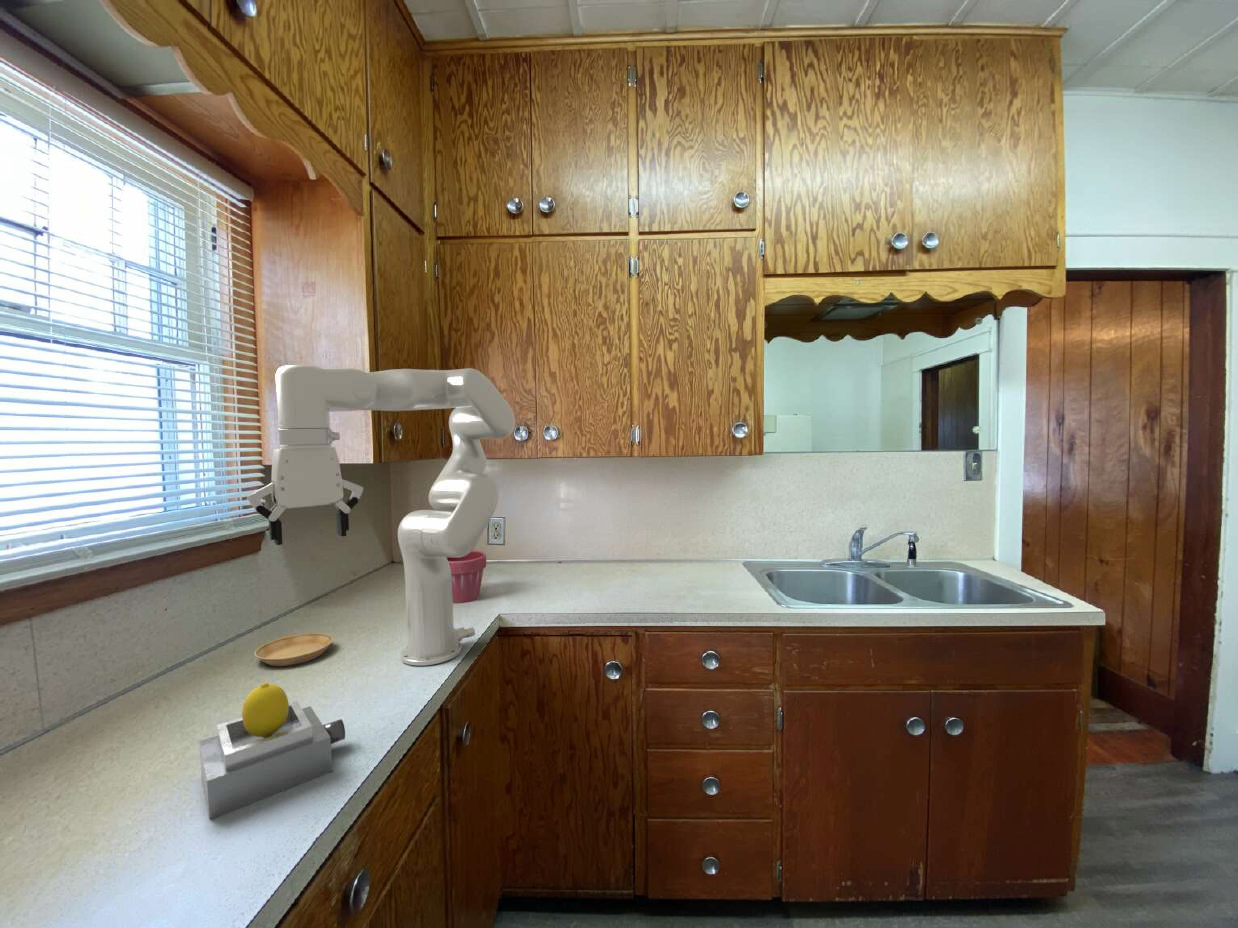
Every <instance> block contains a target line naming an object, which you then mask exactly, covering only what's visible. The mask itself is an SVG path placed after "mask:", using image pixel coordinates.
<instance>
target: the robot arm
mask: <svg viewBox="0 0 1238 928" xmlns="http://www.w3.org/2000/svg"><path fill="white" fill-rule="evenodd" d="M275 385H276V387H275V388H276V403H277V420H278V436H279V439H278V440H279V448H274V449H273V452H272V454H273V455H272V460H271V461H272V463H271V464H272V465H271V483H269V484H267V485H265V486H264V487H260V489H257V490H256V491H254V492H252V493H249V494H248V495H247V497H246V499H247V501H248V502H249V504H250V506H252V508H253V509H254V510H255V512H256V513H258V514H260V515H261V516H262V517H264V518H265V519H267V520H268V532H269V533H268V535H269V539H270V541H273V543H274V544H275V545H276V546H281V545H283V529H282V521H281V520H280V516H281V515H282V514H283V513H284V512H285V510H286V509H297V508H306V507H308V508H309V507H318V506H328V505H333V506H334V507H335V508H336V509H337V512H336V514H335V515H336V517H335V518H336V519H335V520H336V521H335V522H336V534H337V535H338V536H341V537H347V531H350V521H349V513H351V510H352V509H353V508H354V507H355V506H356V505H357V504H358V503H359V499H360V498H361V497H362V494H363V492H364V487H363V486H361V485H359V484H357V483H354V482H351V481H349V480H345V479H343V478H342V473H341V468H340V467H341V466H340V460H339V457H338V453H337V449H336V446H332V444H333V441H334V442H335V441H339V440H340V432H335V431H333V430H332V428H331V423H330V422H331V421H330V419H331V418H330V413H334V412H336V413H337V412H356V411H357V412H358V411H383V412H384V411H385V412H401V411H405V412H406V411H420V410H421V411H422V410H424V411H425V410H438V409H439V410H442V409H443V410H444V409H445V410H446V409H453V410H452V411H451V413H450V415H449V419H448V427H449V433H450V436H451V440H452V452H451V455H450V456H449V459H448V461H447V462H446V464H445V465H444V467H443V468H442V470H441V472H440V473H439V475H438V477H436V480H435V481H434V483H433V484H432V486H430V487H431V488H430V491H429V492H428V502H429V504H430V506H431V507H432V508H433V509H419V510H414V511H412V512H409V513H408V514H406V515H405V516H404V517H403V518H402V520H401V521H400V523H399V525H398V528H397V541H398V546H399V549H400V553H401V556H402V562H403V570H404V583H405V587H404V588H405V607H406V611H405V612H406V628H407V629H406V631H407V633H406V634H407V646H406V647H404V648H403V649H402V651H401V652H400V660H401V661H402V663H405V665H410V666H418V667H419V666H431V665H436V664H441V663H445V662H448V661H450V660H452V659H454V658H456V657H457V656H458V655H459V654H461V652H462V650H463V648H462V645H463V644H462V643H461V642H462V641H463V639H465V638H466V639H467V638H470V637H475V635H476V630H475V628H474V627H473V626H472V627H469V628H468V627H467V628H464V626H463V627H458V628H455V627H454V609H453V608H454V606H453V604H454V603H453V602H452V575H451V569H450V565H449V562H448V560H447V558H446V557H452V558H459V557H463V556H466V555H467V554H469V553H470V552H471V551H472V550H473V549H474V550H475V547H476V546H477V545H478V543H479V541H480V539H481V537H482V535H483V534H484V531H485V529H486V528H487V526H488V524H489V522H490V520H491V519H492V517H493V515H494V513H495V510H496V508H497V505H498V502H499V496H500V495H499V494H500V492H499V491H500V490H499V487H498V486H499V485H498V483H497V481H496V480H495V478H494V477H492V476H491V475H489V474H488V473H485V471H486V469H487V464H488V463H487V457H486V454H485V451H484V448H483V446H482V443H481V440H501V439H506V438H508V437H509V436H511V435H512V433H513V432H514V430H515V428H516V427H515V426H516V416H515V413H514V411H513V409H512V407H511V406H510V404H509V403H508V401H507V400H506V399H505V398H504V396H503V395H502V394H501V393H500V392H499V390H498V389H497V388H496V387H495V385H494V384H493V383H492V381H491V380H489V378H488V377H486V376H485V374H483V372H481V371H479V370H478V369H476V368H472V367H470V368H468V367H467V368H459V369H448V370H447V369H443V370H442V369H441V370H440V369H414V368H400V369H399V368H398V369H395V368H393V369H386V370H379V371H373V372H372V371H370V372H369V371H368V372H365V371H363V370H361V369H357V368H321V367H319V366H315V365H314V366H312V365H304V364H302V365H301V364H291V365H284V366H280V367H279V368H278V369H277V371H276V373H275ZM344 488H345V489H347V490H350V491H351V495H350V497H349V498H348V499H347V500H346V501H345V502H344V501H343V498H344ZM270 494H271V500H272V503H273V504H274V505H273V506H272V507H271V508H270V510H269V509H268V508H267V507H266V506H264V505H263V502H261V499H262V498H264V497H266V496H268V495H270ZM474 550H473V551H474Z"/></svg>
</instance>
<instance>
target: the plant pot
mask: <svg viewBox="0 0 1238 928" xmlns="http://www.w3.org/2000/svg"><path fill="white" fill-rule="evenodd" d="M446 558H447V560H448V562H449V565H450V569H451V575H452V602H453V604H463V603H470V602H473V601H475V600H477V599H478V598H479V596H480V590H481V586H482V580H483V575H484V569H485V568H487V554H486V552H484V551H481V550H472V551H471V552H470V553H469V554H467V555H466V556H463V557H459V558H452V557H446Z"/></svg>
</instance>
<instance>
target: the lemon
mask: <svg viewBox="0 0 1238 928" xmlns="http://www.w3.org/2000/svg"><path fill="white" fill-rule="evenodd" d="M289 703H290V702H289V698H288V696H287V694H286V692H285V690H284V689H283V688H282V687H281V686H279V685H277V684H273V683H267V682H264V683H261V685H259V686H257V687H256V688H254V689H253V690H252V691H250V693H249V694H248V695H247V697H246V698H245V700H244V702H243V706H242V712H241V717H242V720H243V725H244V727H245V729H246V730H247V731H248V732H249V733H250V734H251V735H253V736H257V737H263V738H268V737H271V735H272V734H273V733H275V732H277V731H278V730H279V729H280V728H281V727H282V726H283V724H284V723H285V721H286V719H287V716H288V711H289Z"/></svg>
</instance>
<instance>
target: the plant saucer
mask: <svg viewBox="0 0 1238 928" xmlns="http://www.w3.org/2000/svg"><path fill="white" fill-rule="evenodd" d="M333 641H334V638H333V636H332V635H331V634H329V633H324V632H310V633H307V632H306V633H300V634H294V635H290V636H289V635H288V636H285V637H281V638H278V639H274V640H272V641H269V642H267V643H264V644H263V645H261V646H260V647H258V648H257V649H255V651H254V656H255V657H256V658H257V659H259V660H260V661H262V662H263V663H265V664H267V665H269V666H273V667H285V666H286V667H287V666H294V665H299V664H302V663H306V662H309V661H312V660H314V659H316V658H318V657H320V656H321V655H322V654H323V653H324V652H326V650H327V649H328V648H329V647H330V645H332V643H333Z"/></svg>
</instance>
